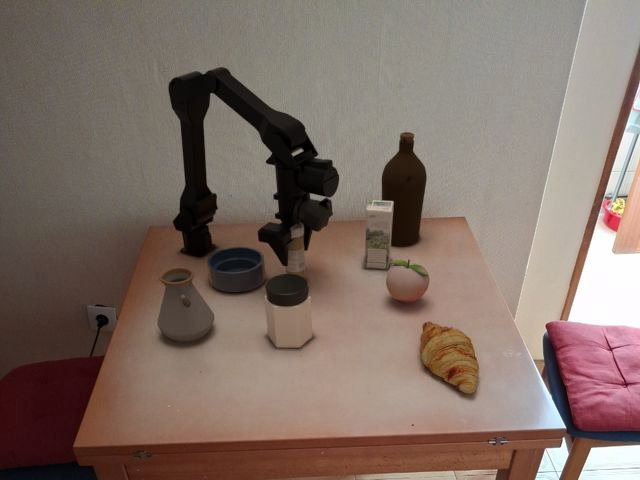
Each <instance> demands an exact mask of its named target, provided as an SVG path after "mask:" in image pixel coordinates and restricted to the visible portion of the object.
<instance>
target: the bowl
mask: <svg viewBox="0 0 640 480" xmlns="http://www.w3.org/2000/svg"><path fill="white" fill-rule="evenodd" d="M265 265H266V263H265V255H264V254H263V252H261V251H260V250H258V249H256V248H253V247H249V246H230V247H225V248H222V249H220V250H215V252H213V253H212V254H210V255H209V257H208V258H207V260H206V267H207V272H208V279H209V283H210V284H211V286H212V287H213V288H215V289H216V290H219V291H222V292H227V293H243V292H247V291H251V290H253V289H256V288H258V287H260V286H261V285H262V284H263V283H265V280H266V279H267V275H266V266H265Z"/></svg>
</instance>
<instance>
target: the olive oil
mask: <svg viewBox="0 0 640 480" xmlns="http://www.w3.org/2000/svg"><path fill="white" fill-rule="evenodd" d="M414 139H415V134H414V133H413V132H409V131H405V132H401V133H400V134H399V140H398V151H397V152H396V153H395V154H394V156H392V158H390V160H388V162H387V163H386V164H385V165H384V168H383V170H382V174H381V201H393V202H394V206H393V221H392V234H391V246H393V247H408V246H412V245H414V244H416V243H417V242H418V241H419V238H420V231H421V221H422V213H423V207H424V200H425V193H426V186H427V180H428V177H427V175H428V174H427V170H426V166H425V165H424V163H423V161H422V160H421V159H420V158H419V157H418V155H416V153H415V151H414V146H415V140H414Z"/></svg>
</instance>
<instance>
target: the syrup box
mask: <svg viewBox="0 0 640 480" xmlns="http://www.w3.org/2000/svg"><path fill="white" fill-rule="evenodd" d="M393 206H394V202H393V201H382V200H380V199H379V200H377V199H369V200H368V202H367V205H366V211H365V243H364V244H365V246H364V269H373V270H385V271H386V270H388V271H389V267H390V264H389V263H390V262H391V254H392V253H391V251H392V249H391V247H392V245H391V234H392V221H393Z"/></svg>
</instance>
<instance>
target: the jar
mask: <svg viewBox="0 0 640 480" xmlns="http://www.w3.org/2000/svg"><path fill="white" fill-rule="evenodd" d="M305 278H306V277H305ZM305 278H303V277H302V276H299V275H295V274H286V273H282V274H278V275H274V276H273V277H271V278H269V279H268V280H267V281H266V282H265V286H264V288H265V294H264V296H263V297H264V305H265V306H264V307H265V315H266V317H265V318H266V328H267V336H268V338H269V339H270V340H271V341H272V344H273V345H274V346H275V347H276V348H286V349H287V348H290V349H291V348H294V349H300V348H301V347H302V346H304V345H305V344H306V343H307V342H309V340H310V339H312V338H313V321H312V298H311V297H312V296H311V295H310V294H309V293H310V291H309V288H310V287H309V282H308V280H307V279H305Z"/></svg>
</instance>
